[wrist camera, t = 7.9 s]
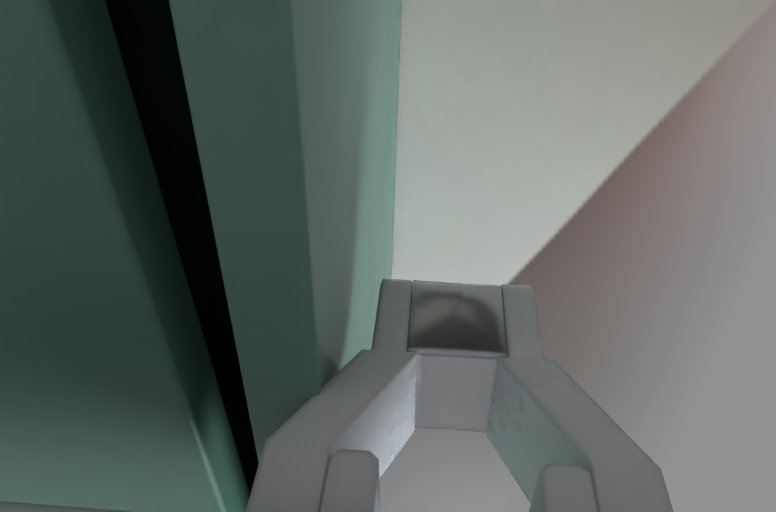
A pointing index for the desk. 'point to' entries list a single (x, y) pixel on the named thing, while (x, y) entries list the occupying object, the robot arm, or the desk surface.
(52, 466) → the cabinet
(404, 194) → the desk surface
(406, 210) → the desk surface
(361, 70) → the cabinet door
